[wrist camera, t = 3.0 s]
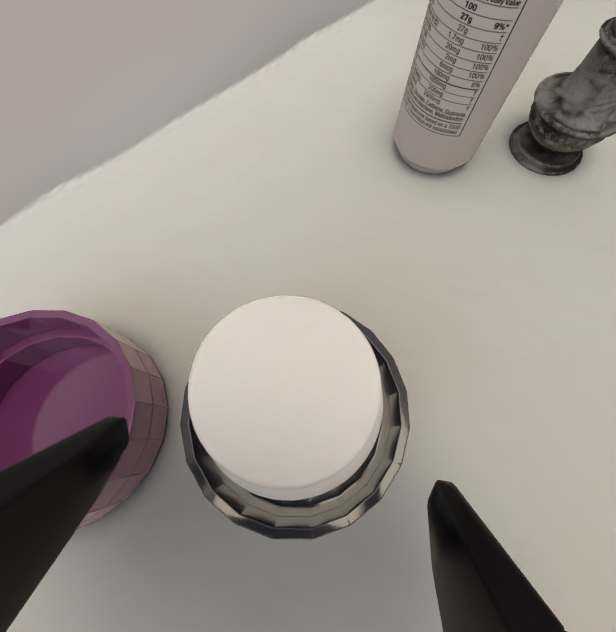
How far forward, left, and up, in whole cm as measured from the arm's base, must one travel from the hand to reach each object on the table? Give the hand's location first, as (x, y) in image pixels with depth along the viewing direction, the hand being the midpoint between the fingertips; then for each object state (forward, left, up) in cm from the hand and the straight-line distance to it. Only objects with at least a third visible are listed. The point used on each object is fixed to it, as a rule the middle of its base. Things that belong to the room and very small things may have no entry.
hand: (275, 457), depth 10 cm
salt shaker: (+27, +6, -9) cm, 30 cm away
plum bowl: (-9, +8, -9) cm, 15 cm away
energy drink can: (+20, +11, -9) cm, 25 cm away
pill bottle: (+1, +1, -9) cm, 9 cm away
